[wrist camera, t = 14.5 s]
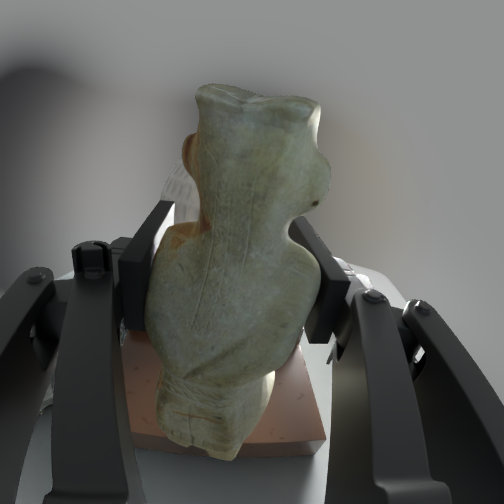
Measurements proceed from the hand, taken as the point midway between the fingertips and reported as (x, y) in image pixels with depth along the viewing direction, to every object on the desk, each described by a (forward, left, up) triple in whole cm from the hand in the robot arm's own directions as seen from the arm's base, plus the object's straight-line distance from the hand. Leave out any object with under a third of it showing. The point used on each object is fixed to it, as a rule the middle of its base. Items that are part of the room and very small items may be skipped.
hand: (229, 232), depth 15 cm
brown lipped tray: (0, -2, -18) cm, 18 cm away
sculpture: (0, +5, -8) cm, 10 cm away
